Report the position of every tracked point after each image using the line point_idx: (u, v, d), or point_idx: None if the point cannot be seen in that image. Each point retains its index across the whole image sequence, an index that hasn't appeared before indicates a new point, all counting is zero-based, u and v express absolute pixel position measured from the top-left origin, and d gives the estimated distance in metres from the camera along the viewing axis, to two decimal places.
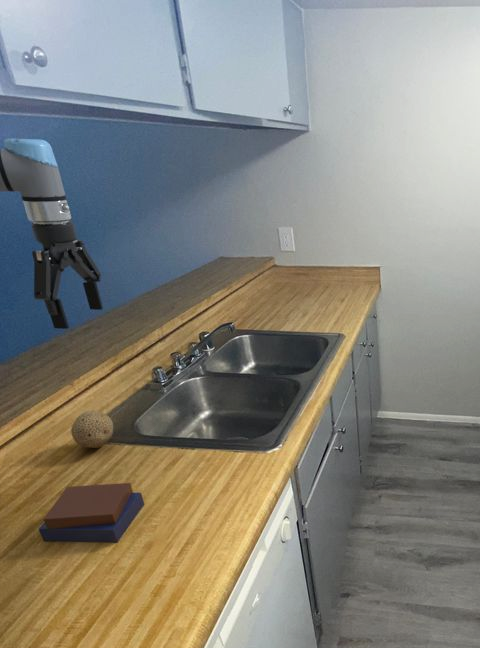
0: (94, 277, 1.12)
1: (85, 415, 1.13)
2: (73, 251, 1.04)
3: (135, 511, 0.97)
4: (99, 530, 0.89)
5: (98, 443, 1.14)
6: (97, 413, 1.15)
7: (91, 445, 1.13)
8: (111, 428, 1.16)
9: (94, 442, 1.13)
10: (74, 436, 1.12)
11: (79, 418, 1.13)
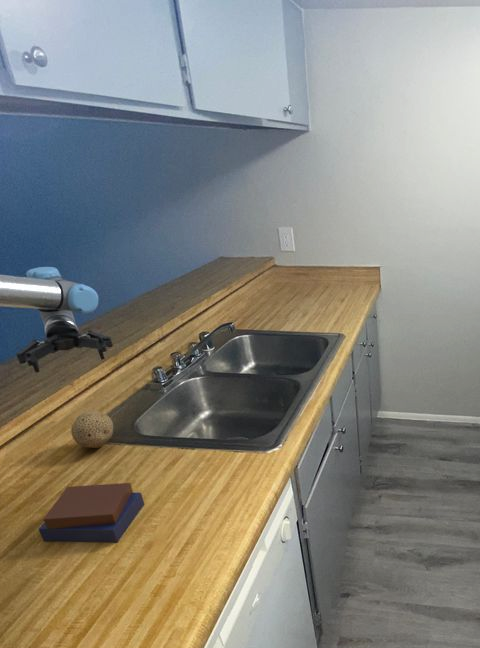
0: None
1: (85, 415, 1.13)
2: None
3: (135, 511, 0.97)
4: (99, 530, 0.89)
5: (98, 443, 1.14)
6: (97, 413, 1.15)
7: (91, 445, 1.13)
8: (111, 428, 1.16)
9: (94, 442, 1.13)
10: (74, 436, 1.12)
11: (79, 418, 1.13)
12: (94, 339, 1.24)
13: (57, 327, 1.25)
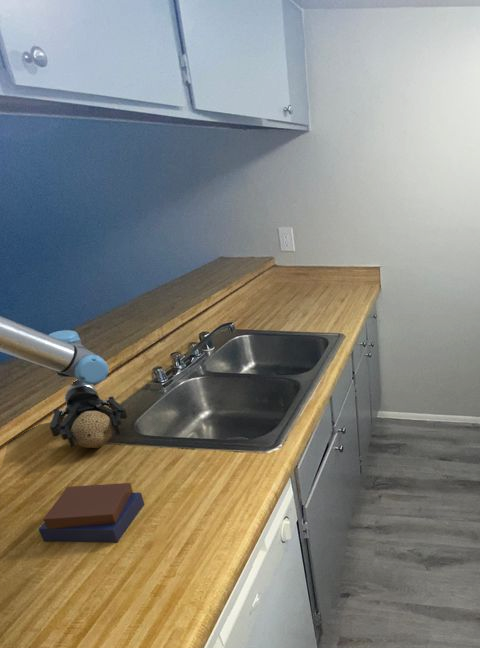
0: None
1: (85, 415, 1.13)
2: None
3: (135, 511, 0.97)
4: (99, 530, 0.89)
5: (98, 443, 1.14)
6: (97, 413, 1.15)
7: (91, 445, 1.13)
8: (111, 428, 1.16)
9: (94, 442, 1.13)
10: (74, 436, 1.12)
11: (79, 418, 1.12)
12: (110, 410, 1.20)
13: (78, 394, 1.23)
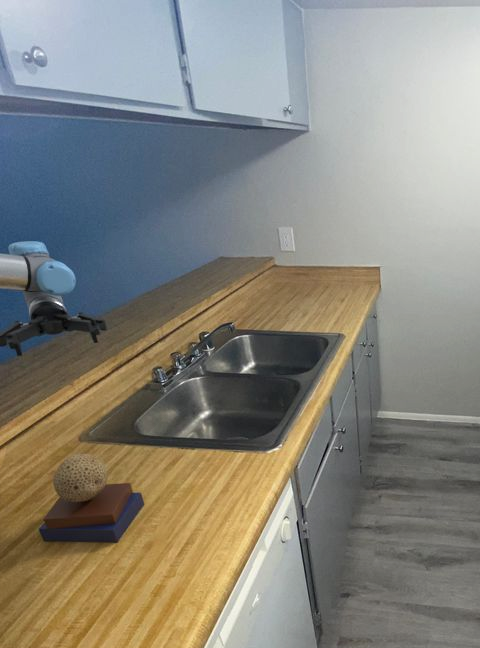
0: None
1: (71, 462, 0.88)
2: None
3: (135, 511, 0.97)
4: (99, 530, 0.89)
5: (88, 497, 0.88)
6: (87, 458, 0.90)
7: (79, 500, 0.88)
8: (105, 476, 0.91)
9: (82, 496, 0.88)
10: (57, 489, 0.87)
11: (63, 465, 0.87)
12: (86, 321, 1.09)
13: (44, 307, 1.10)
